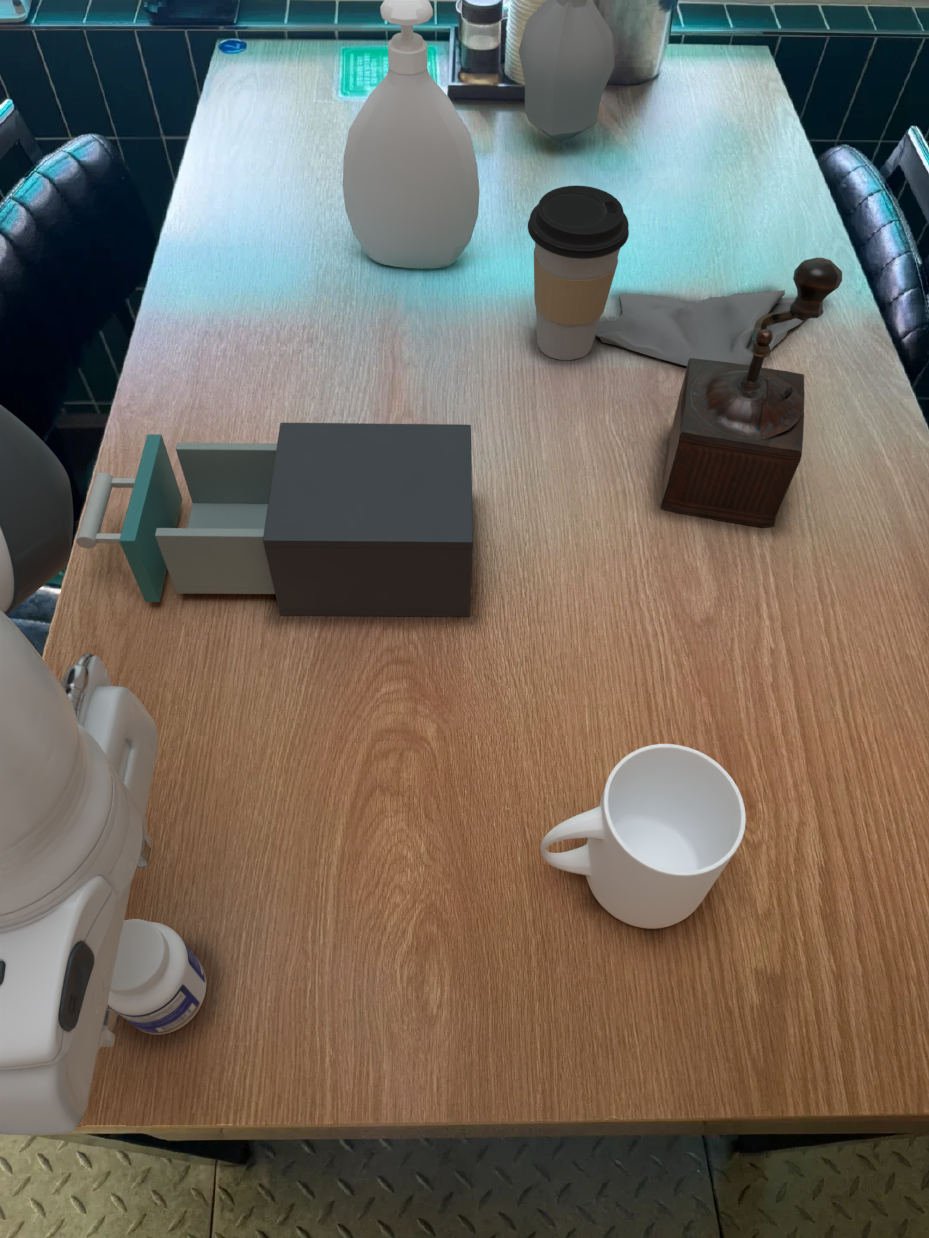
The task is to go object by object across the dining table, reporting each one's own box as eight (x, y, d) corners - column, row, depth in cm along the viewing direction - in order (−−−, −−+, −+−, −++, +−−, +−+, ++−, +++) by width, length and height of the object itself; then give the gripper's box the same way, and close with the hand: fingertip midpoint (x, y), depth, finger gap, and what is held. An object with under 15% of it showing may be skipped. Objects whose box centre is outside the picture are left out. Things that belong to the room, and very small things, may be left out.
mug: (528, 816, 68) (541, 747, 59) (692, 810, 69) (729, 740, 60) (539, 937, 63) (555, 880, 54) (716, 929, 64) (760, 872, 55)
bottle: (497, 147, 121) (511, -142, 97) (543, 111, 127) (568, -171, 102) (572, 175, 118) (607, -117, 93) (617, 138, 123) (661, -148, 98)
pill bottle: (134, 948, 62) (94, 903, 55) (214, 951, 62) (184, 907, 55) (114, 1035, 59) (69, 999, 52) (198, 1038, 59) (165, 1003, 52)
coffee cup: (627, 351, 98) (653, 218, 86) (555, 384, 95) (571, 251, 83) (571, 303, 103) (588, 170, 90) (500, 333, 99) (508, 199, 87)
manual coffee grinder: (781, 532, 84) (853, 372, 70) (657, 510, 85) (702, 348, 71) (784, 415, 93) (848, 251, 78) (671, 397, 94) (715, 232, 80)
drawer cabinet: (280, 615, 78) (262, 540, 70) (294, 501, 85) (280, 422, 77) (469, 616, 78) (472, 542, 70) (468, 503, 85) (470, 424, 78)
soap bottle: (479, 238, 109) (490, -27, 87) (474, 280, 105) (484, 12, 83) (354, 230, 110) (333, -36, 88) (344, 272, 105) (319, 2, 83)
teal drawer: (88, 602, 77) (57, 540, 71) (117, 498, 84) (91, 433, 77) (323, 603, 78) (312, 542, 71) (333, 500, 84) (324, 435, 78)
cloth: (598, 377, 96) (602, 359, 94) (582, 293, 104) (585, 275, 102) (850, 373, 97) (858, 355, 95) (816, 291, 105) (822, 273, 103)
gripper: (16, 635, 46) (102, 765, 57) (-135, 1104, 34) (11, 1151, 45) (147, 635, 46) (207, 765, 57) (42, 1103, 34) (143, 1150, 45)
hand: (119, 938), depth 51 cm, fingers open, 8 cm apart
